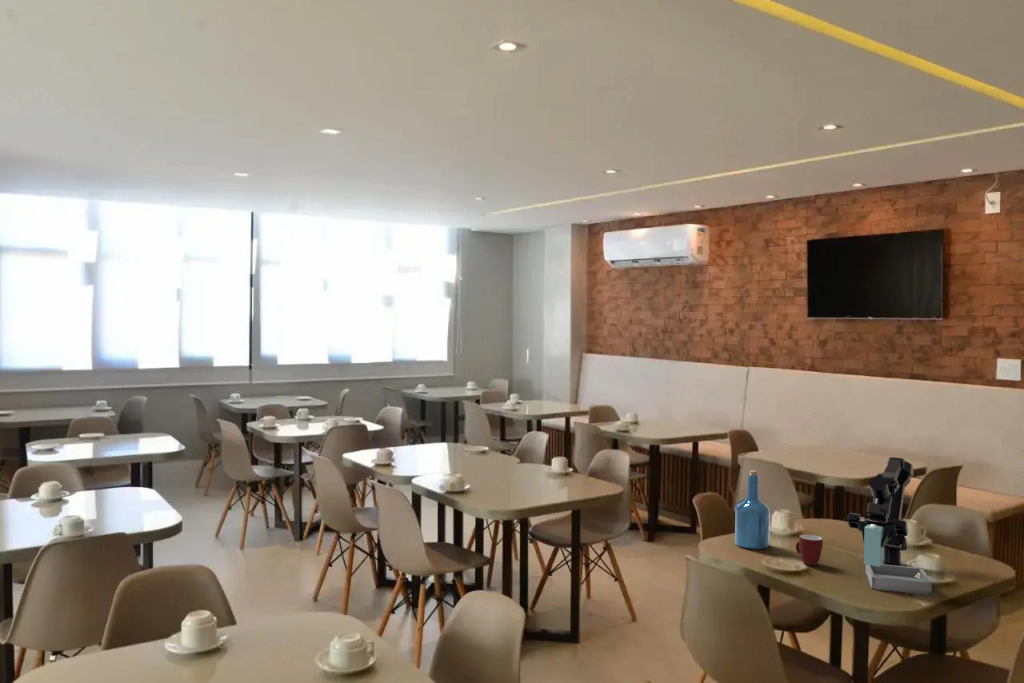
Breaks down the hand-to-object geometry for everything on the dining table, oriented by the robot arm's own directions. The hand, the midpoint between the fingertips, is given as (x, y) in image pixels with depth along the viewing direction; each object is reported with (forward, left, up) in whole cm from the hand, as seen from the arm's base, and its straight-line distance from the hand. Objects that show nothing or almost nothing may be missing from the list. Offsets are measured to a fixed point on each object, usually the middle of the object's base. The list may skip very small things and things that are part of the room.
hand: (872, 545), depth 268 cm
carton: (-1, 0, -7) cm, 7 cm away
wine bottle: (-37, -40, -14) cm, 56 cm away
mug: (-19, -20, -14) cm, 31 cm away
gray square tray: (-4, +8, -14) cm, 17 cm away
